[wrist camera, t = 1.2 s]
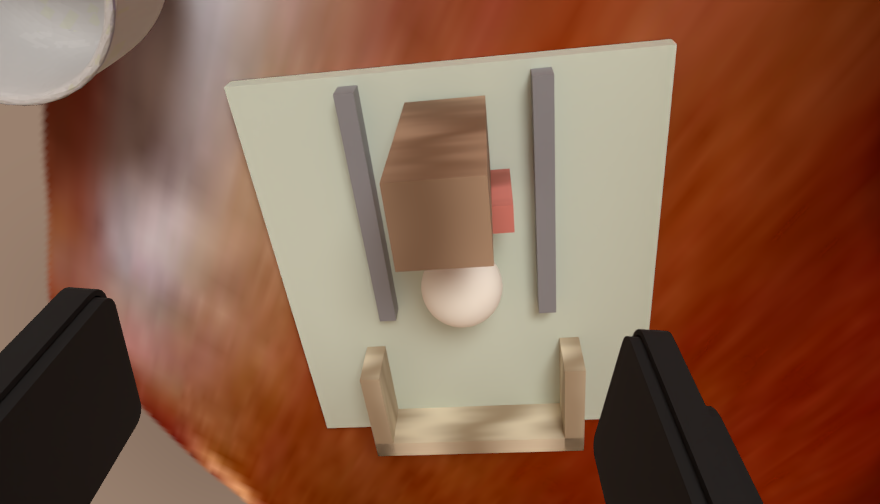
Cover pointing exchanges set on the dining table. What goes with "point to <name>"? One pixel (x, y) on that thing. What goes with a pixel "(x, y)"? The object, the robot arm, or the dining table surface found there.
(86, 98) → the dining table surface
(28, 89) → the teacup
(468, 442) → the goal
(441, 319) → the ball
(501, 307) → the board
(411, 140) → the block
